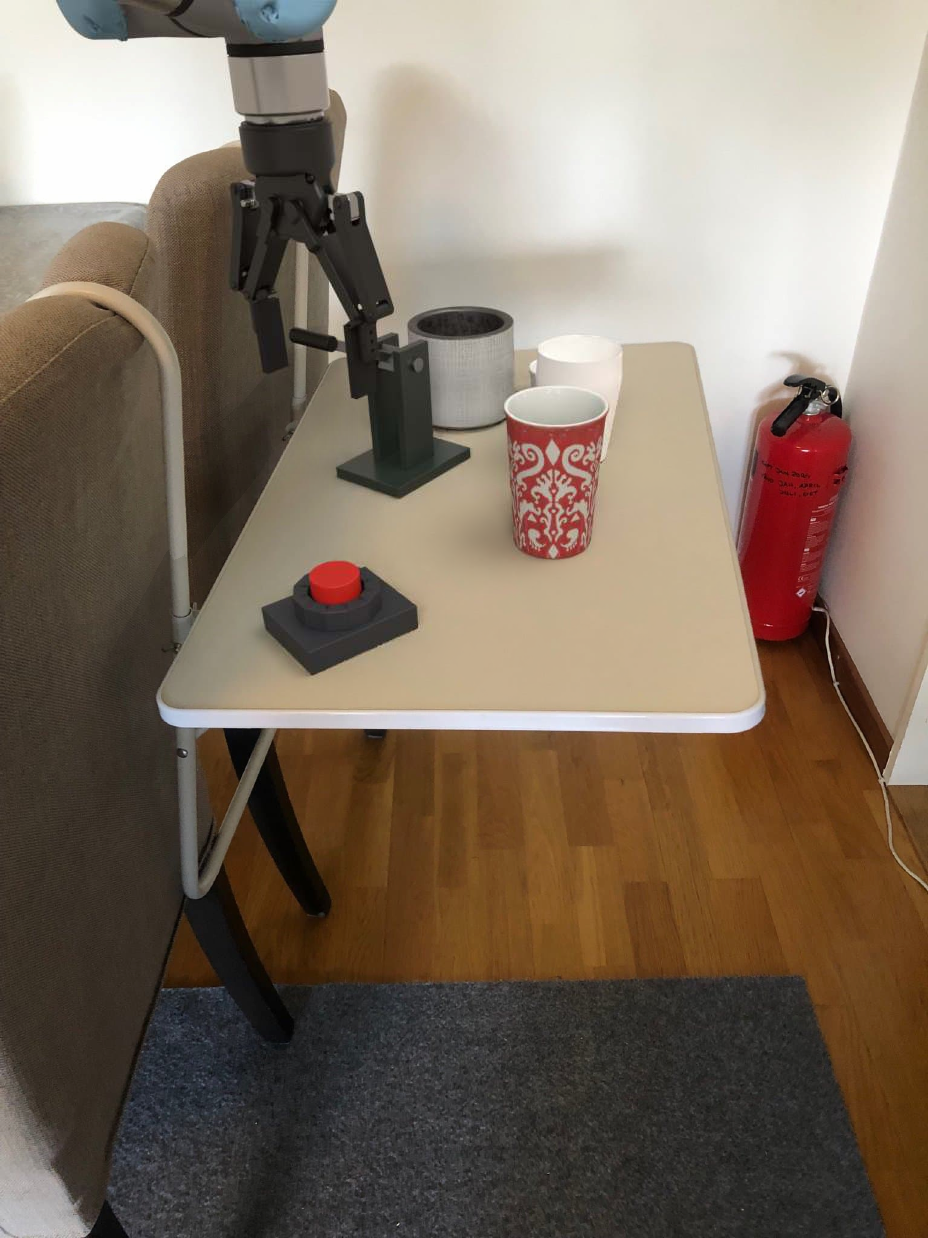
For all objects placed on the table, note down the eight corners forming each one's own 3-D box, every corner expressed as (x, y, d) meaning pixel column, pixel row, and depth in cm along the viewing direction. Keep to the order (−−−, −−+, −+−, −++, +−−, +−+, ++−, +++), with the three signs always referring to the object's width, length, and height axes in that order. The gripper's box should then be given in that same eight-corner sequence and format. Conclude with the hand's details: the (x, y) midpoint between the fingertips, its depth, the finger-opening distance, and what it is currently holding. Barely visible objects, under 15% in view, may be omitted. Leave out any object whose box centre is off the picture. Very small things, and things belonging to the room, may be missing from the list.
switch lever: (324, 356, 82) (329, 329, 82) (286, 346, 85) (291, 319, 84) (421, 378, 94) (426, 354, 93) (384, 368, 96) (389, 345, 96)
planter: (534, 406, 113) (535, 314, 107) (475, 441, 105) (472, 345, 99) (452, 386, 120) (449, 299, 113) (391, 419, 111) (383, 327, 105)
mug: (603, 566, 82) (612, 424, 75) (502, 564, 83) (501, 424, 75) (597, 500, 93) (605, 370, 85) (508, 499, 93) (507, 370, 86)
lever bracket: (399, 499, 94) (388, 367, 86) (336, 476, 99) (321, 350, 91) (470, 457, 102) (467, 333, 94) (409, 438, 107) (401, 319, 99)
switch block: (312, 675, 71) (305, 633, 68) (264, 629, 76) (257, 588, 74) (418, 627, 75) (415, 587, 73) (367, 587, 81) (363, 547, 79)
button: (327, 611, 71) (324, 593, 70) (302, 590, 74) (299, 571, 73) (371, 593, 73) (369, 575, 72) (345, 573, 76) (343, 555, 75)
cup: (621, 472, 98) (629, 361, 91) (536, 474, 98) (538, 364, 91) (611, 437, 105) (618, 332, 98) (532, 439, 105) (533, 335, 98)
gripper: (427, 117, 70) (440, 394, 82) (225, 104, 82) (264, 347, 95) (358, 130, 65) (384, 422, 78) (156, 114, 77) (206, 368, 90)
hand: (318, 381), depth 86 cm, fingers open, 11 cm apart
